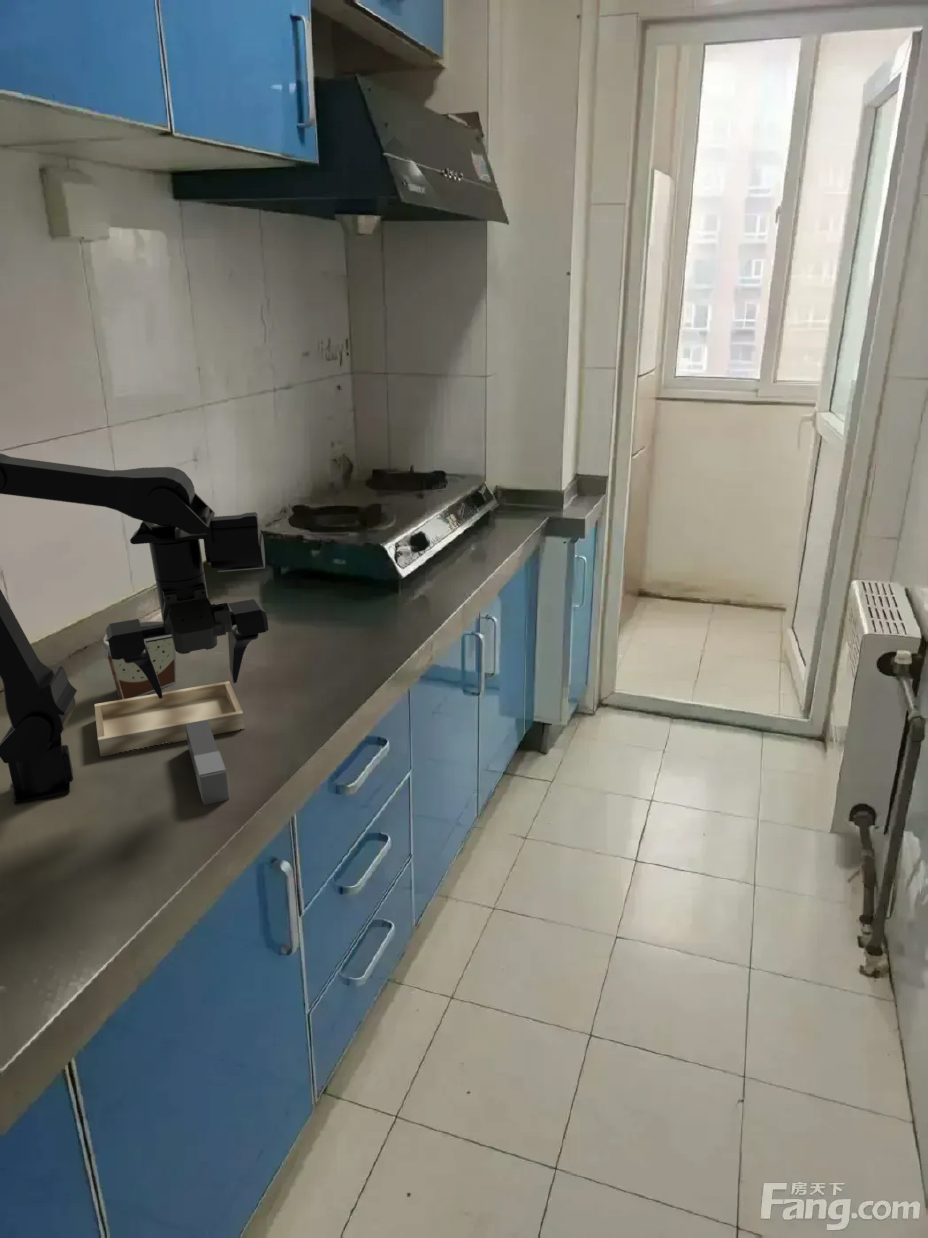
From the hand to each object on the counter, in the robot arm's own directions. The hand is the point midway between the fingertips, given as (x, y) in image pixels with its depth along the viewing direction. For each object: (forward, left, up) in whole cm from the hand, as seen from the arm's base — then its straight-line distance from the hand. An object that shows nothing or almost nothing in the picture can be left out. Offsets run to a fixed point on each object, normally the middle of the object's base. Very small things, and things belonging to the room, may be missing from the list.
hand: (198, 689), depth 109 cm
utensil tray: (-3, +16, -12) cm, 20 cm away
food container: (-6, +31, -13) cm, 34 cm away
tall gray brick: (0, 0, -12) cm, 12 cm away
